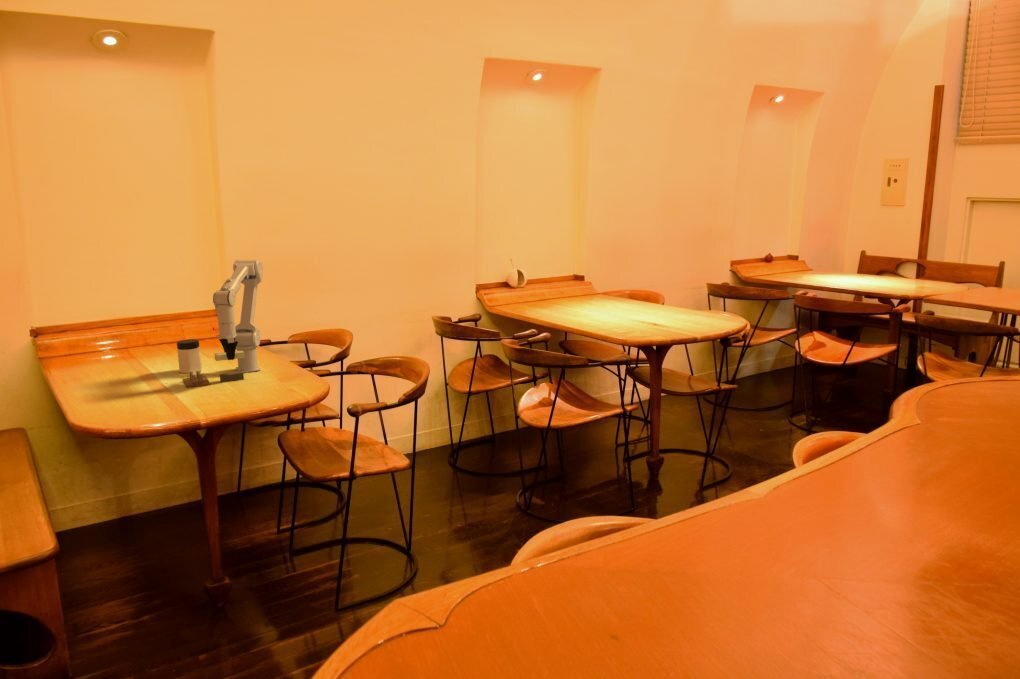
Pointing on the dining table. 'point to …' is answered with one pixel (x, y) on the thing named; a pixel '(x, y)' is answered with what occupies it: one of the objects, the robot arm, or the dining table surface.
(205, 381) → the peg base
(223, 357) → the shelf board
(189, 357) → the jar
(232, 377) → the block
